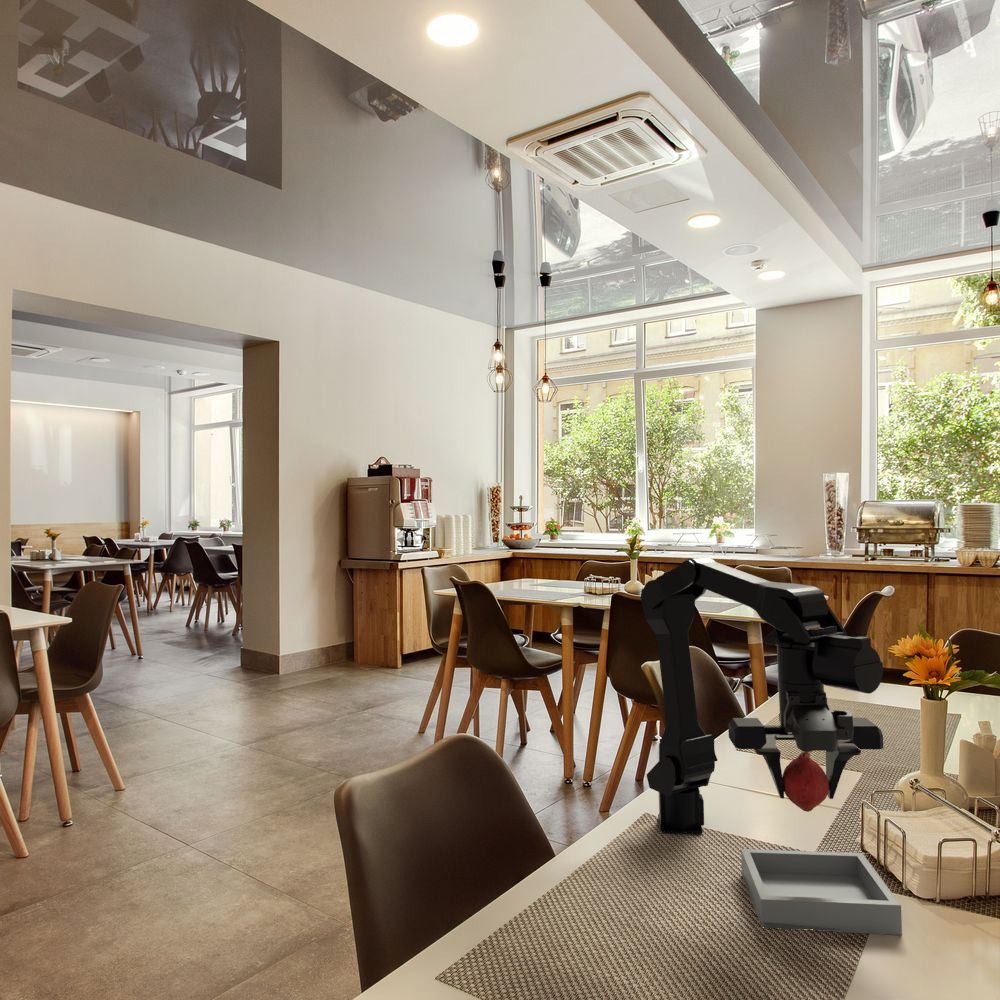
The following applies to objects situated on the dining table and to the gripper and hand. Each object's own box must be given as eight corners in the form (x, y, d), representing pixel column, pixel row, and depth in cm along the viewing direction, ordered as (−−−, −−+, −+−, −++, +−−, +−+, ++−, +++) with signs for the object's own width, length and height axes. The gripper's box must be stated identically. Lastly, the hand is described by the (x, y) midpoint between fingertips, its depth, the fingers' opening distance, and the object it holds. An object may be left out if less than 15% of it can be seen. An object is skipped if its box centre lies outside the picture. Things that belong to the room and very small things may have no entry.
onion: (809, 823, 100) (806, 760, 100) (773, 809, 105) (771, 749, 105) (839, 813, 102) (836, 752, 103) (803, 800, 108) (801, 742, 108)
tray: (761, 928, 94) (760, 899, 94) (741, 874, 108) (741, 848, 108) (902, 935, 92) (901, 905, 92) (863, 879, 105) (862, 853, 105)
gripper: (740, 694, 97) (745, 820, 97) (897, 693, 95) (903, 822, 95) (725, 676, 108) (730, 789, 108) (865, 675, 106) (870, 790, 106)
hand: (805, 797), depth 104 cm, fingers closed on onion, 6 cm apart
